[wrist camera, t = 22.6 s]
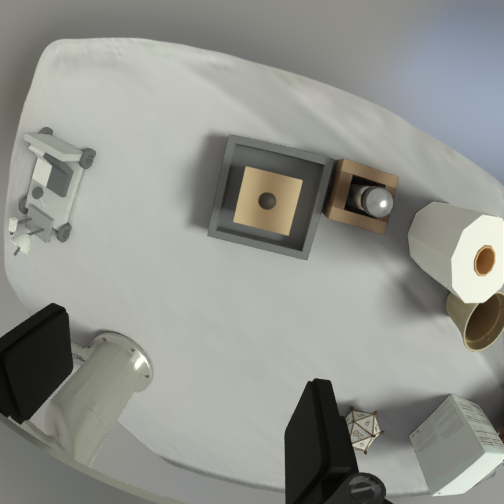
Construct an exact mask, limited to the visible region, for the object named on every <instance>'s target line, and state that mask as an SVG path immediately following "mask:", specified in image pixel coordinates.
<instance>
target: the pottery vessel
mask: <svg viewBox="0 0 504 504" xmlns="http://www.w3.org/2000/svg"><path fill="white" fill-rule="evenodd" d="M498 436H499V438H500V439H501V441H502V443H503V444H504V424H503V426H502V429H501V431H500V433H499V435H498ZM503 461H504V460H503Z"/></svg>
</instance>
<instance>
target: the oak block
mask: <svg viewBox="0 0 504 504" xmlns="http://www.w3.org/2000/svg"><path fill="white" fill-rule="evenodd" d="M302 182H303V180H300V179H296V178H292V177H288V176H284V175H280V174H276V173H272V172H268V171H264V170H260V169H256V168H251V167H247V166H246V168H245V172H244V177H243V181H242V185H241V189H240V194H239V198H238V202H237V207H236V211H235V216H234V220H233V222H235V223H240V224H244V225H248V226H252V227H256V228H260V229H264V230H268V231H272V232H276V233H280V234H284V235H288V236H289V232H290V228H291V224H292V221H293V217H294V213H295V209H296V205H297V202H298V198H299V194H300V190H301V186H302Z"/></svg>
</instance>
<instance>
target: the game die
mask: <svg viewBox="0 0 504 504" xmlns="http://www.w3.org/2000/svg"><path fill="white" fill-rule="evenodd" d="M350 409H351V412H350V413H349V414H348V416H347V417H346V418H345V419H346V422H347V425H348V429H349V433H350V437H351V441H352V445H353V449H357V450H362V451H364V454H366V455H367V451H366V450H367V448H368V447H369V446H370V445H371V444H372V442H373V441H374V440H375V439H376V438H377V436H378V435H379V434H380V433H382V434H383V433H385V432H384V431H380V428H379V425H378V422H377V419H376V416H375V414H377V412H378V410H377V411H375V412H374V414H373V413H366V412H360V411H354V410H353V407H350Z"/></svg>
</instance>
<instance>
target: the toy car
mask: <svg viewBox="0 0 504 504" xmlns="http://www.w3.org/2000/svg"><path fill="white" fill-rule="evenodd" d="M52 133H53V131H52V129H50V128H48V127H46V128H43V129H42V130H41V131H40V133H39V134H37V133H25V134H24V137H23V140H25V141H27V142H29V143H30V144H31V145H30V146H29V149H30V150H31V151H32V152H33V153H34V154H35V155H36V156H37V157H38V159H37V162H36V165H35V169H34V172H33V176H32V180H31V184H30V188H29V192H28V196H26V197H24V198H23V199H22V200H21V202H20V204H19V210H20V212H22V213H23V214H26V213H27V218H26V220H22V221H19V222H17V221H18V219H16V218H15V217H12V218H10V222H9V228H8V230H9V231H10V234H11V235H13V232H14V231H16V227H17V225H18V224H21V223H24V222H26V223H25V227H26V228H27V229H29V230H30V231H31V233H28V234H27V233H23V234H20V235H17V236H16V237H14V238H12V239H11V241H12V242H13V243H14V244H15V245H16V246H17V247H18V249H17V250H16V252H15V253H14V255H15V256H16V255H17V253H18V252H19V250H21V251H22V252H23V253H24V254H26V255H27V256H29V252H30V247H31V237H30V235H33V234H35V235H36V236H38V237H39V238H40V239H42V240H43V241H44V242H45V243H47V242H50V238H51V234H52V229H53V228H54V229H56V230H57V231H58V233H57V239H58V240H59V241H60V242H65V241H66V240H67V239H68V238H69V235H70V231H71V226H70V225H69V224H67V221H68V217H69V214H70V210H71V207H72V203H73V200H74V197H75V194H76V191H77V187H78V184H79V181H80V178H81V176H82V173H83V170H84V169H88V168H89V167H91V165H92V163H93V159H94V157H95V155H96V152H95V151H94V150H92V149H87V150H85V151H84V152H83V151H81V150H79V149H77V148H75V147H73V146H71V145H69V144H67V143H65V142H63V141H61V140H60V139H58V138H56V137H54V136H52Z"/></svg>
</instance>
